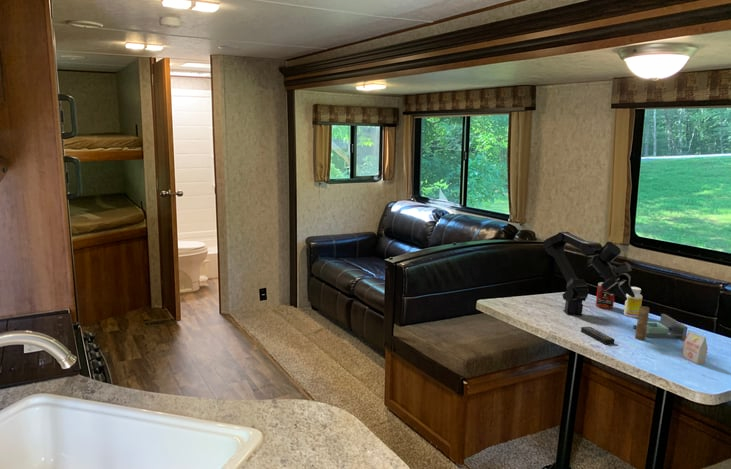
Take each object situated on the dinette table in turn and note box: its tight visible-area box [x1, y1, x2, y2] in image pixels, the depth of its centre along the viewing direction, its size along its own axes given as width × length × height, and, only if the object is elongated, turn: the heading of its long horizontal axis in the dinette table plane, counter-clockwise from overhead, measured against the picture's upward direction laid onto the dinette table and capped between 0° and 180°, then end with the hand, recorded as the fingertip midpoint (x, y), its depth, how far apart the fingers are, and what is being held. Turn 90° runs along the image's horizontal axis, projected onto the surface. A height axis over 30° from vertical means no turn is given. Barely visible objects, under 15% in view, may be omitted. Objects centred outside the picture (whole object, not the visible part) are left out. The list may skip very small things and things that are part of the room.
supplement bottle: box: [623, 286, 643, 319], centre depth 248 cm, size 7×7×13 cm
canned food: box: [595, 281, 616, 310], centre depth 260 cm, size 8×8×11 cm
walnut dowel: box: [634, 305, 650, 341], centre depth 218 cm, size 4×4×13 cm
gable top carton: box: [680, 330, 708, 365], centre depth 199 cm, size 4×7×10 cm, turn 17°
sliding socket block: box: [646, 321, 669, 334], centre depth 226 cm, size 8×8×4 cm
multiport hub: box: [580, 326, 615, 346], centre depth 218 cm, size 4×14×2 cm, turn 17°
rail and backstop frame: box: [632, 313, 688, 342], centre depth 226 cm, size 14×16×6 cm
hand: (630, 298), depth 225 cm, fingers open, 9 cm apart
